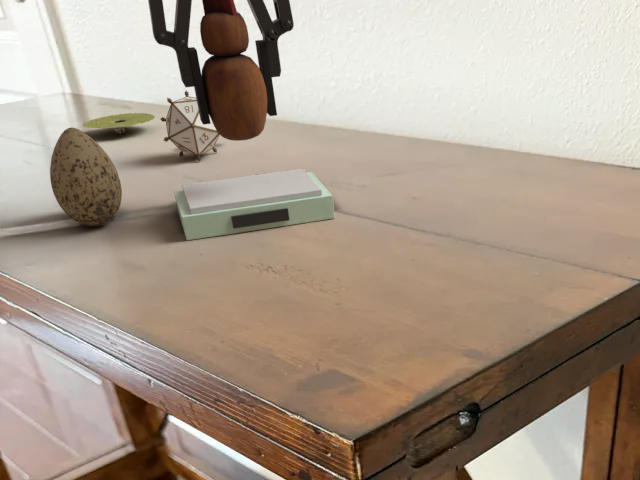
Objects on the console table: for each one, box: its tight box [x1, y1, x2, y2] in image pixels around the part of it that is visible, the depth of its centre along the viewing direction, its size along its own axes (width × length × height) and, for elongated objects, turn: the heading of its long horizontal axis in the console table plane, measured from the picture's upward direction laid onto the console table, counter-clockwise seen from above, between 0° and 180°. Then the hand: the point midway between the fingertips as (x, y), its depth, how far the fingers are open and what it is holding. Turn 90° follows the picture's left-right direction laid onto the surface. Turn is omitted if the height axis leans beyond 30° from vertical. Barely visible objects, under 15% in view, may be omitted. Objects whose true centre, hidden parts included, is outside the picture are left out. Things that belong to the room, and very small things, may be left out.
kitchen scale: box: [173, 168, 336, 241], centre depth 90 cm, size 16×11×3 cm
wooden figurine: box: [199, 0, 268, 142], centre depth 81 cm, size 7×6×15 cm
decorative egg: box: [49, 127, 123, 228], centre depth 88 cm, size 7×7×10 cm
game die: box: [159, 90, 221, 163], centre depth 112 cm, size 9×8×10 cm
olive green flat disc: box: [82, 112, 155, 135], centre depth 130 cm, size 11×11×2 cm
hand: (238, 117), depth 85 cm, fingers closed on wooden figurine, 6 cm apart
